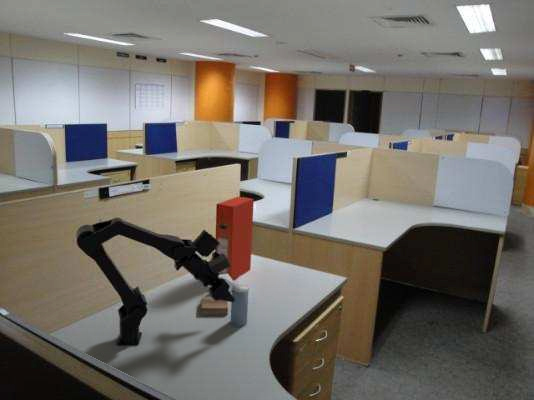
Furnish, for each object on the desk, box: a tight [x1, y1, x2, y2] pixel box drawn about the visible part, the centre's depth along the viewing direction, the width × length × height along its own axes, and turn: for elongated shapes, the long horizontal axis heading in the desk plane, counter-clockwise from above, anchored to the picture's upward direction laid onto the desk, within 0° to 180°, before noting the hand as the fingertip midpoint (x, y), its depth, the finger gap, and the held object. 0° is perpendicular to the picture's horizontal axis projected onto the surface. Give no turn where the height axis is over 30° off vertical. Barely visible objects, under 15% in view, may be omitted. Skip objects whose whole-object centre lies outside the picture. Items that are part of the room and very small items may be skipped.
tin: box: [230, 282, 250, 328], centre depth 149 cm, size 6×6×13 cm
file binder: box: [214, 196, 255, 281], centre depth 187 cm, size 8×17×32 cm, turn 154°
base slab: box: [201, 296, 229, 316], centre depth 158 cm, size 9×9×2 cm
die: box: [209, 274, 236, 294], centre depth 169 cm, size 8×9×10 cm
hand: (229, 294), depth 146 cm, fingers open, 9 cm apart
